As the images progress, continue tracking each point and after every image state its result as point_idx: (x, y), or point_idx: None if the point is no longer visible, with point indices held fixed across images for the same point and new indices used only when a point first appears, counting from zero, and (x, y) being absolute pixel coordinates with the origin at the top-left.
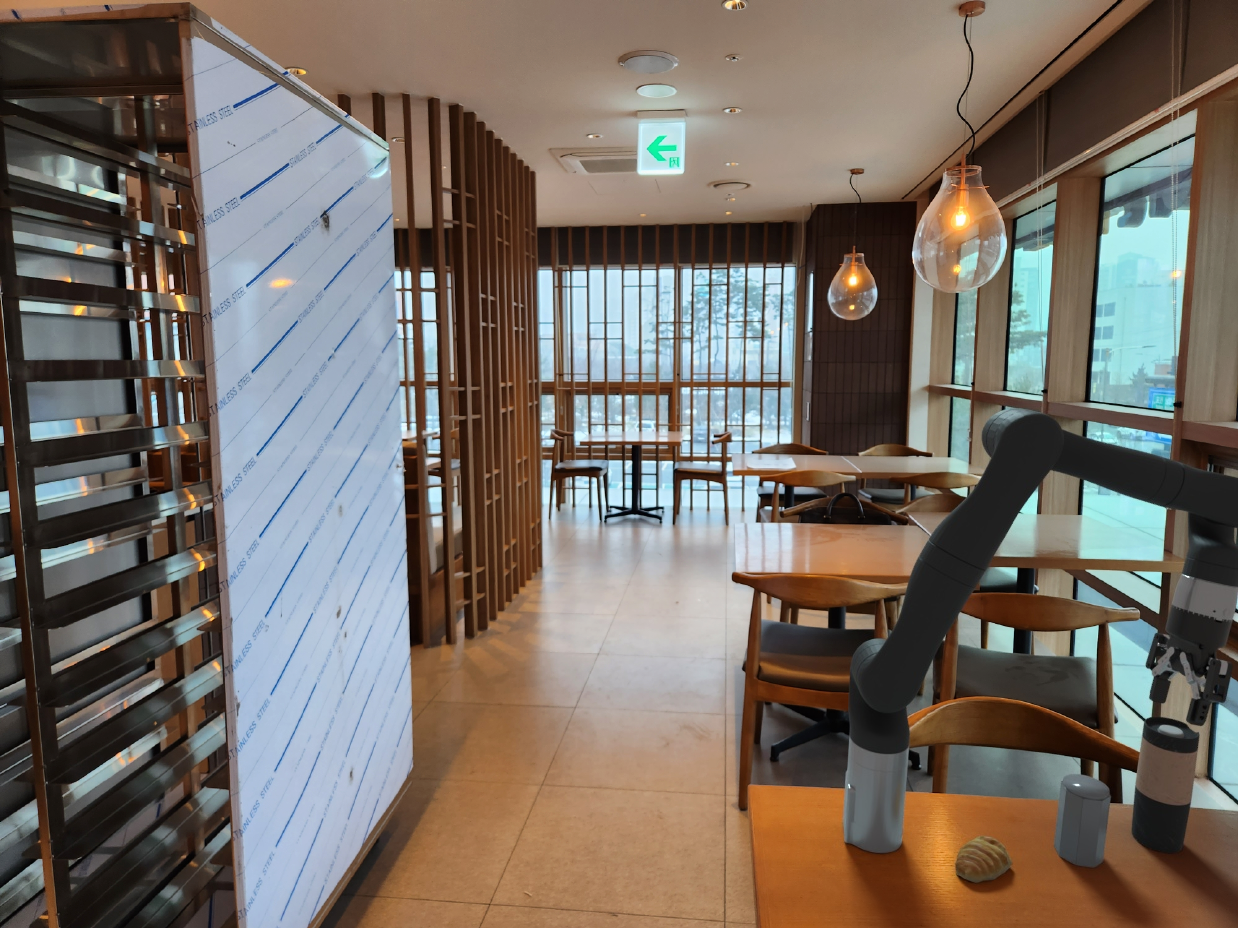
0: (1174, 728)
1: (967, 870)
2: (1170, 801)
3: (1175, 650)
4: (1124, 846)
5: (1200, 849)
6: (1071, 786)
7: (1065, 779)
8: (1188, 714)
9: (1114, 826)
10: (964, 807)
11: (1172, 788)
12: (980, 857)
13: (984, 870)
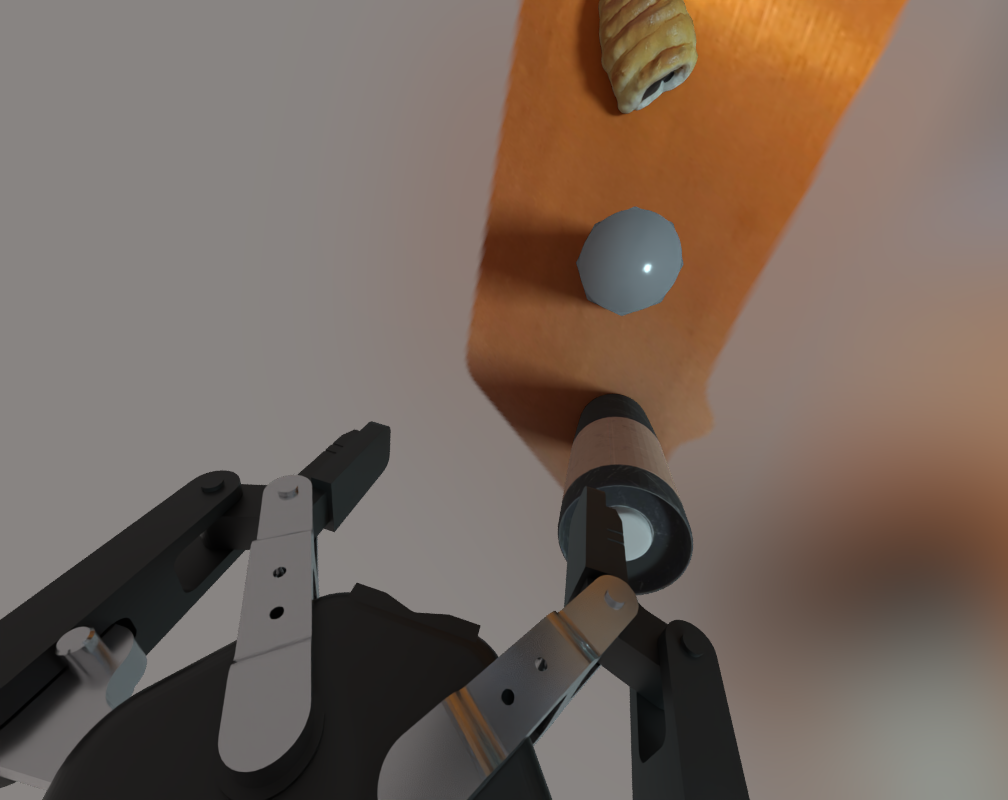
0: None
1: None
2: (578, 435)
3: (378, 792)
4: (613, 363)
5: None
6: (634, 220)
7: (665, 228)
8: (367, 436)
9: (660, 391)
10: (827, 134)
11: (576, 446)
12: (627, 8)
13: (602, 10)
